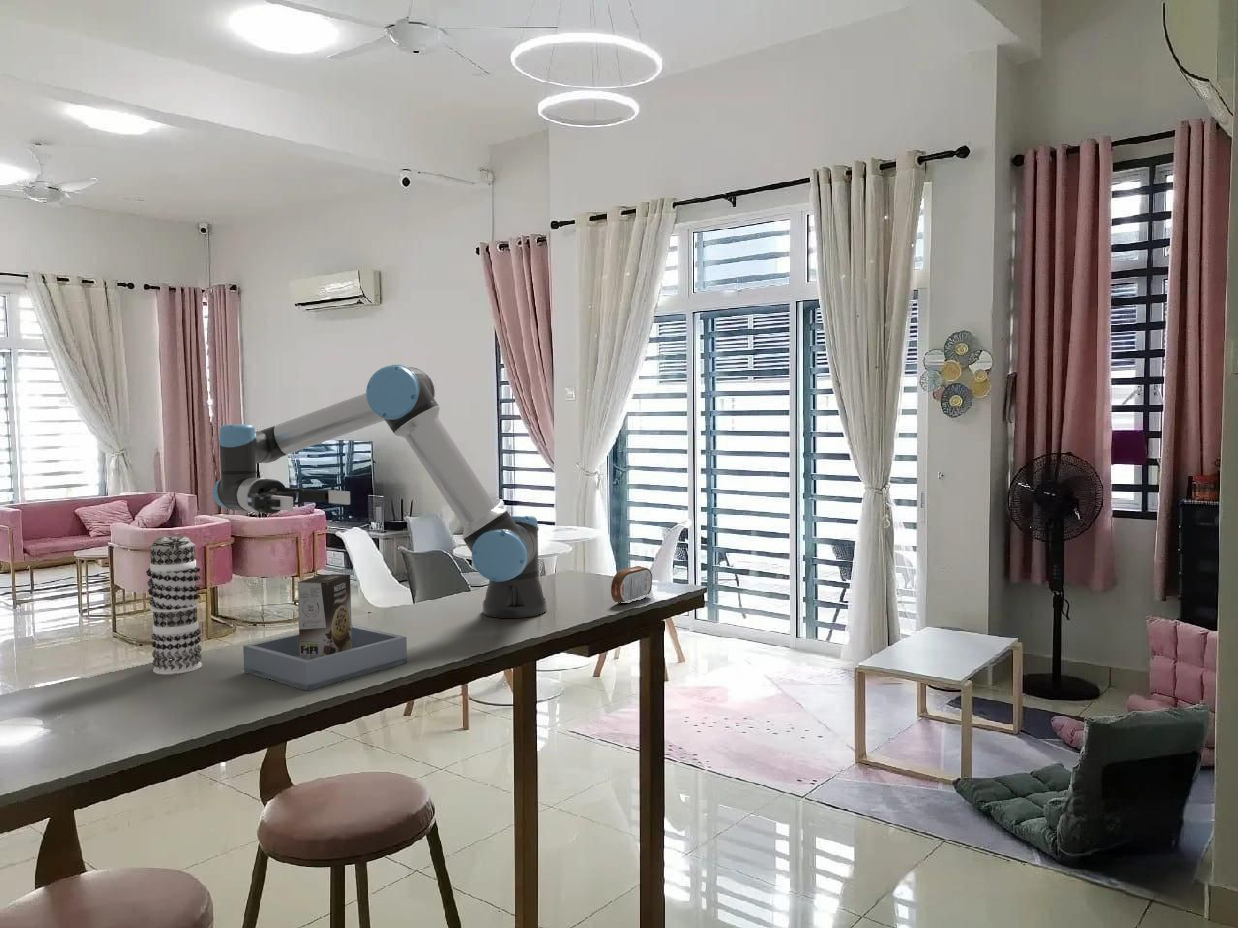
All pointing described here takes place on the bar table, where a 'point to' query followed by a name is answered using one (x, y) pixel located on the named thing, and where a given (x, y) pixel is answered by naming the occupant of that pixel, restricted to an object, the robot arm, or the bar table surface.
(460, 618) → the bar table surface
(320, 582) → the cookie box
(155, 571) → the decorative candle
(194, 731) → the bar table surface
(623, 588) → the tin
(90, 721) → the bar table surface
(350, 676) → the tray
